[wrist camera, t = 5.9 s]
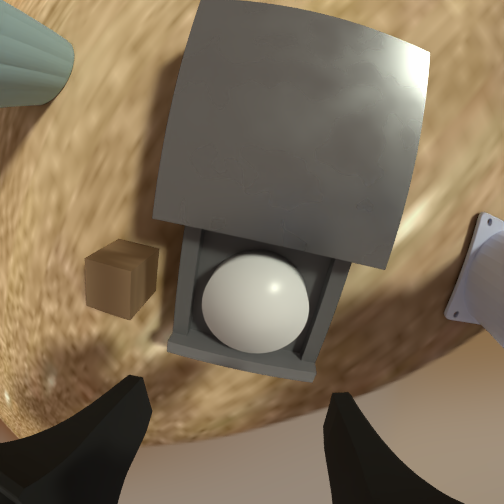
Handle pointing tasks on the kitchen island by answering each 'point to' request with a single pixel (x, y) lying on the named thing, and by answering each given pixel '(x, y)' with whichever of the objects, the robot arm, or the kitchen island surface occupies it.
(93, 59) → the kitchen island surface
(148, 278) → the brown cardboard cube
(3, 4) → the cup
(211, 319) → the white rounded dome
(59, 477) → the robot arm
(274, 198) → the shiny gray metal block
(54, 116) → the kitchen island surface
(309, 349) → the tray
